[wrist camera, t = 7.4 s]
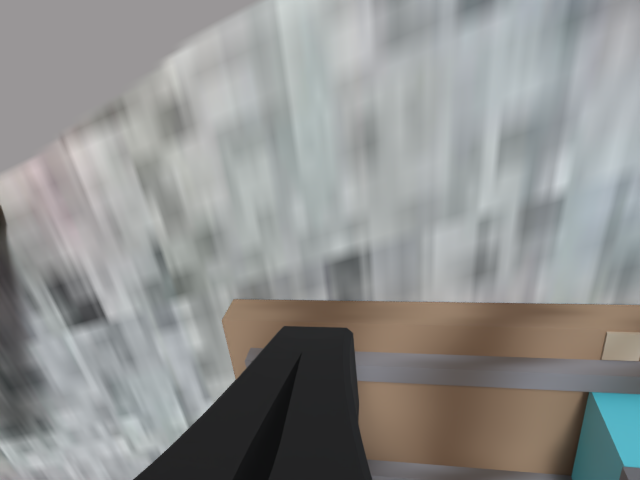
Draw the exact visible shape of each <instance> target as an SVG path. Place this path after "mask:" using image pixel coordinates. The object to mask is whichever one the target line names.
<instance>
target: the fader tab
mask: <svg viewBox="0 0 640 480" xmlns="http://www.w3.org/2000/svg"><path fill="white" fill-rule="evenodd" d="M571 478H572V480H640V394H623V393H602V392H589V395H588V400H587V405H586V409H585V414H584V419H583V424H582V428H581V433H580V438H579V443H578V447H577V452H576V457H575V462H574V466H573V471H572V476H571Z"/></svg>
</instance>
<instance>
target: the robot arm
mask: <svg viewBox="0 0 640 480" xmlns="http://www.w3.org/2000/svg"><path fill="white" fill-rule="evenodd" d="M358 420H359V395H358V384H357V372H356V361H355V349H354V338H353V332H351V331H350V330H349V329H348V328H342V327H303V326H283V327H282V328H281V329H280V330H279V331H278V332H277V334H276V335H275V336H274V337H273V338H272V339H271V340H270V342H269V343H268V344H267V345H266V346H265V347H264V349H263V350H262V351H261V352H260V353H259V354H258V355H257V357H256V358H255V359H254V360H253V361H252V362H251V363H250V365H249V366H248V367H247V368H246V369H245V370H244V371H243V372H242V374H241V375H240V376H239V377H238V378H237V379H236V380H235V381H234V382H233V383H232V384H231V386H230V387H229V388H228V389H227V390H226V391H225V392H224V393H223V394H222V395H221V396H220V397H219V398H218V399H217V401H216V402H215V403H214V404H213V405H212V406H211V407H210V408H209V409H208V410H207V411H206V412H205V413H204V414H203V415H202V416H201V417H200V418H199V419H198V420H197V421H196V422H195V423H194V424H193V425H192V426H191V427H190V428H189V429H188V430H187V431H186V432H185V433H184V434H183V435H182V436H181V437H180V438H179V439H178V440H177V441H176V442H174V443H173V444H172V445H171V446H170V447H169V448H168V449H167V450H166V451H165V452H164V453H163V454H162V455H161V456H159V457H158V458H157V459H156V460H155V461H154V462H153V463H152V464H151V465H150V466H148V467H147V468H146V469H145V470H144V471H143V472H142V473H140V474H139V475H138V476H137V477H136V478H135V479H133V480H372V477H371V473H370V469H369V466H368V462H367V458H366V454H365V450H364V446H363V442H362V438H361V433H360V429H359V424H358Z"/></svg>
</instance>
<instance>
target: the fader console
mask: <svg viewBox="0 0 640 480" xmlns="http://www.w3.org/2000/svg"><path fill="white" fill-rule="evenodd" d="M222 324H223V328H224V332H225V336H226V340H227V345H228V349H229V353H230V357H231V361H232V365H233V370H234V374H235V378H236V379H237V378H238V377H239V376H240V375H241V374H242V372H243V371H244V370H245V369H246V368H247V367H248V366H249V365H250V363H251V362H252V361H253V360H254V359H255V358H256V357H257V355H258V354H259V353H260V352H261V351H262V350H263V349H264V347H265V346H266V345H267V344H268V343H269V342H270V340H271V339H272V338H273V337H274V336H275V335H276V334H277V332H278V331H279V330H280V329H281V328H282V327H283V326H303V327H342V328H348V329H349V330H350V331H351V332H353V338H354V349H355V361H356V372H357V384H358V395H359V420H358V424H359V429H360V433H361V438H362V442H363V446H364V450H365V454H366V458H367V462H368V466H369V469H370V473H371V477H372V480H572V478H571V476H572V471H573V466H574V462H575V457H576V452H577V447H578V443H579V438H580V433H581V428H582V424H583V419H584V414H585V409H586V405H587V400H588V395H589V392H602V393H623V394H640V305H595V304H525V303H455V302H384V301H314V300H243V299H234V300H233V301H232V303H231V305H230V307H229V308H228V310H227V312H226V314H225V315H224V317H223V319H222Z"/></svg>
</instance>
